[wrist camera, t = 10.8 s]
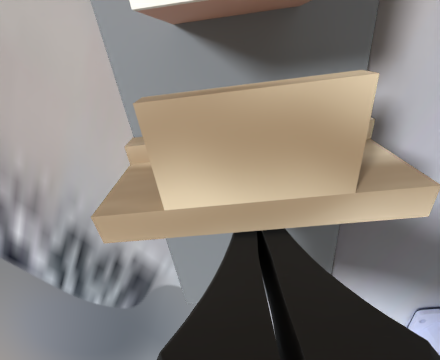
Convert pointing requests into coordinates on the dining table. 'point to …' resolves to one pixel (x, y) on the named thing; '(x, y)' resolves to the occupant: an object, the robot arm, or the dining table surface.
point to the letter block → (206, 8)
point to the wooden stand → (260, 162)
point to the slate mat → (233, 83)
